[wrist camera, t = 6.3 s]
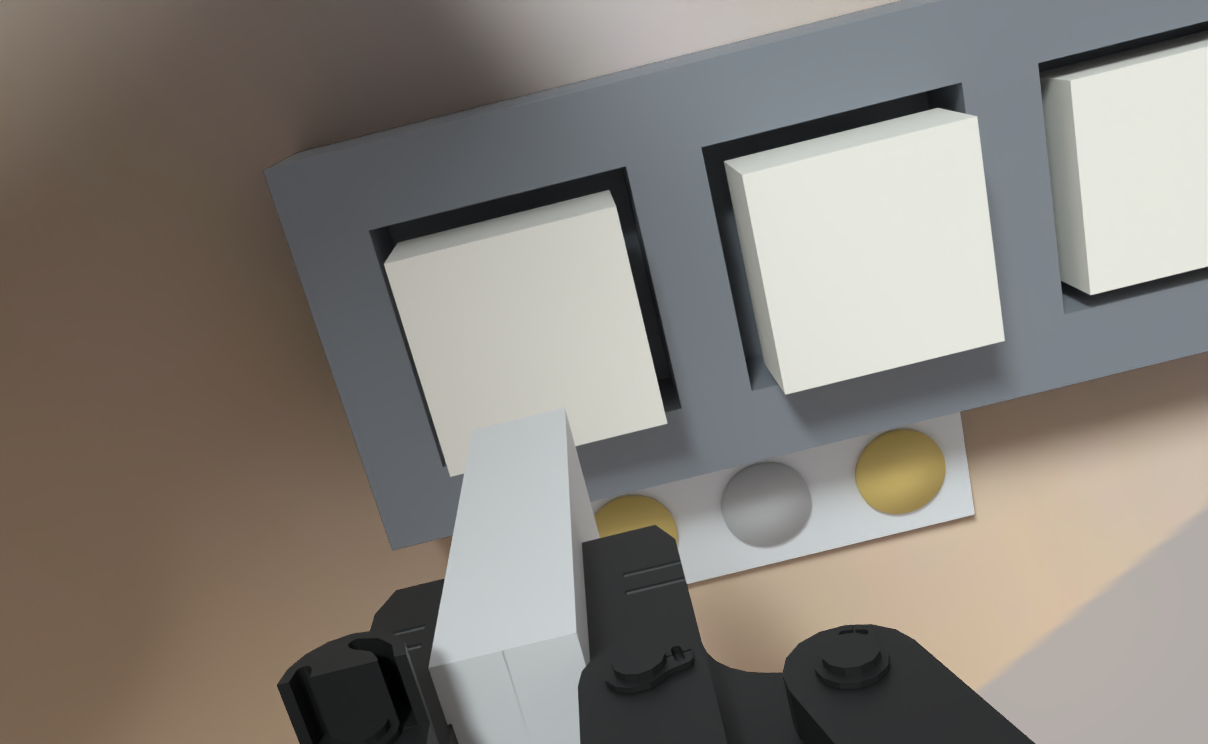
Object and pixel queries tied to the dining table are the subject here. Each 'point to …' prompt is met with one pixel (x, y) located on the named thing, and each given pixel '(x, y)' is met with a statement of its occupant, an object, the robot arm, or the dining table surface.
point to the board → (727, 234)
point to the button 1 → (527, 324)
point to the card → (804, 499)
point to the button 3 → (1129, 163)
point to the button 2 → (868, 248)
